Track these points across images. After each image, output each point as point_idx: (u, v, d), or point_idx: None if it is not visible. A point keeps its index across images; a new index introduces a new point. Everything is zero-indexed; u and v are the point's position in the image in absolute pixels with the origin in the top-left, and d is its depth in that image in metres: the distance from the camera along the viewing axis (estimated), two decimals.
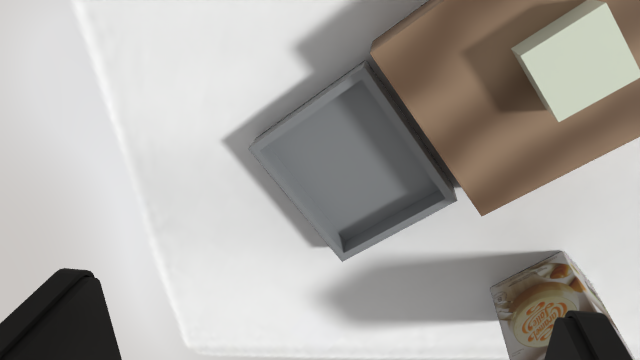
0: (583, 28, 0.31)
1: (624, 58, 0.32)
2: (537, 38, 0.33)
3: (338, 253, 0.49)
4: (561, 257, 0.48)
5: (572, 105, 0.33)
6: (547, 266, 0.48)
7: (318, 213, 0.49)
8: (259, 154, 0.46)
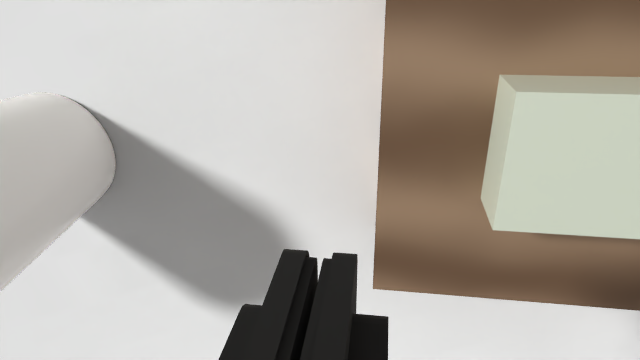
0: (540, 218, 0.19)
1: (521, 139, 0.18)
2: None
3: None
4: None
5: None
6: None
7: None
8: None
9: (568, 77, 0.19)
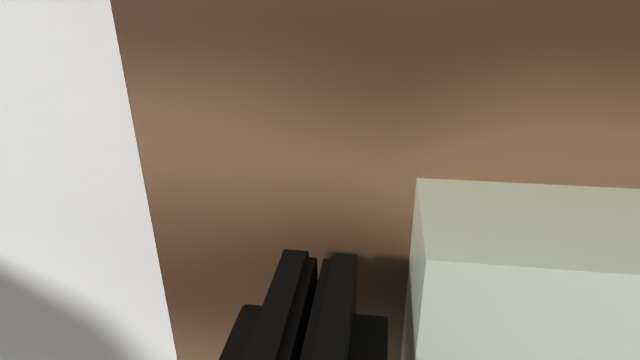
0: None
1: (446, 351, 0.08)
2: None
3: None
4: None
5: None
6: None
7: None
8: None
9: (554, 191, 0.09)
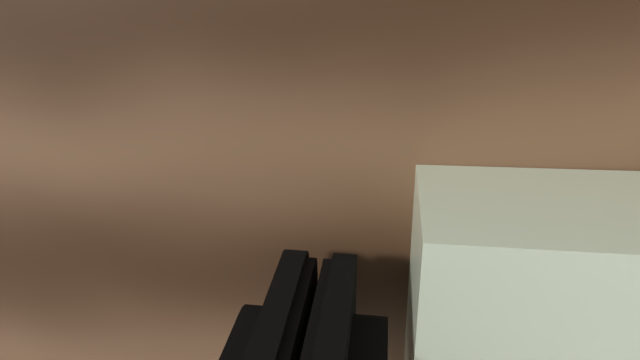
0: None
1: (446, 337, 0.08)
2: None
3: None
4: None
5: None
6: None
7: None
8: None
9: (557, 175, 0.09)
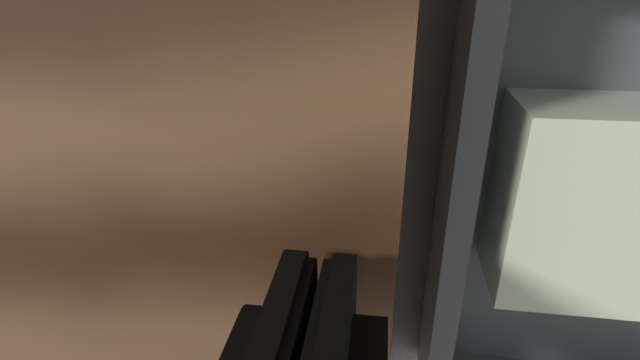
0: None
1: None
2: None
3: None
4: None
5: None
6: None
7: None
8: None
9: None
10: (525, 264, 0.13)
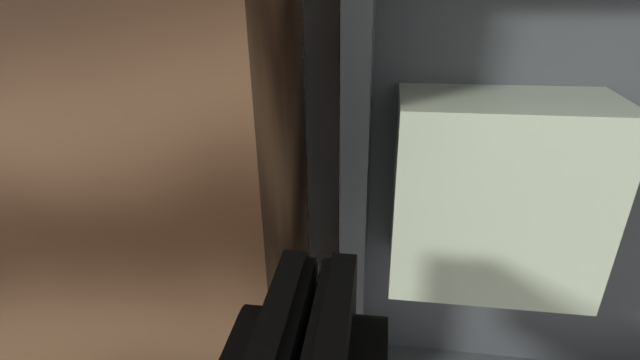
0: None
1: None
2: None
3: None
4: None
5: None
6: None
7: None
8: None
9: (535, 111, 0.11)
10: (412, 254, 0.13)
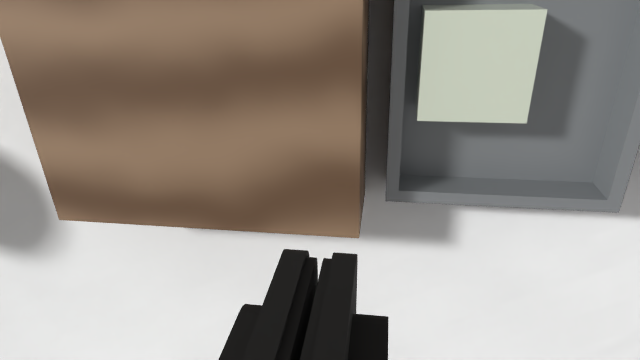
0: None
1: None
2: None
3: None
4: None
5: None
6: None
7: None
8: (613, 195, 0.27)
9: (490, 9, 0.23)
10: (430, 92, 0.25)
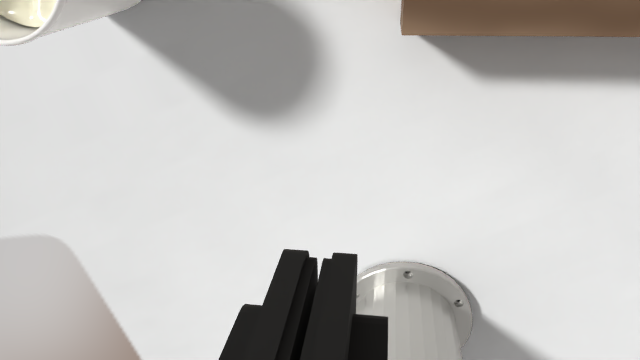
0: None
1: None
2: None
3: None
4: None
5: None
6: None
7: None
8: None
9: None
10: None
